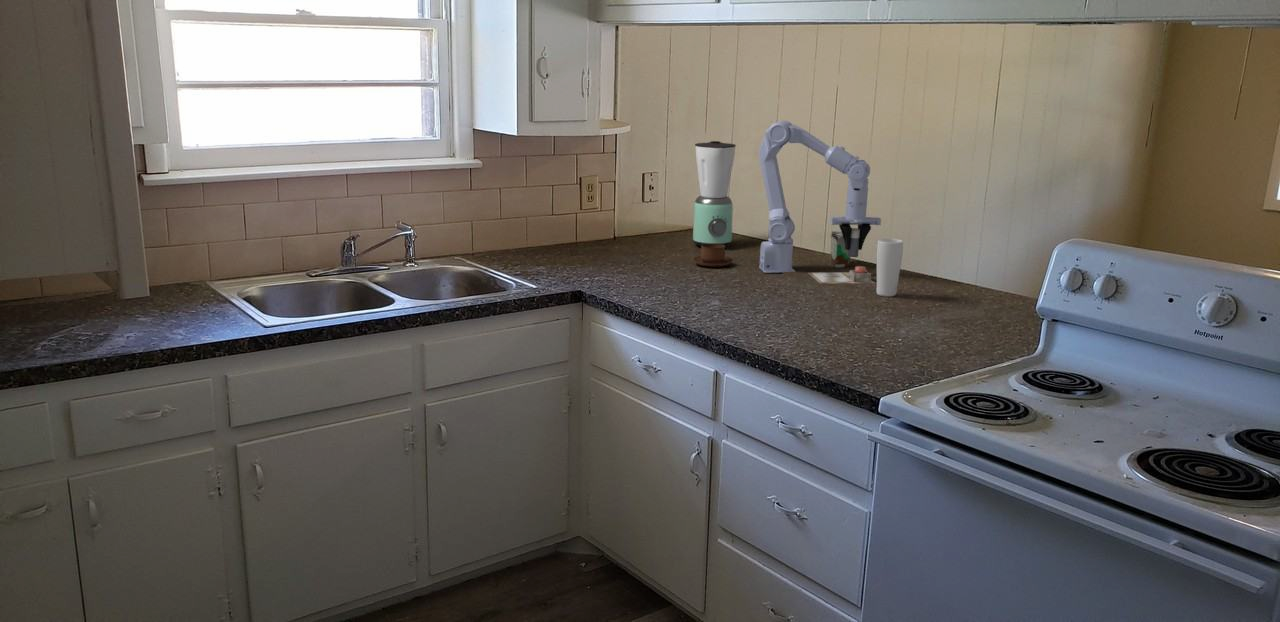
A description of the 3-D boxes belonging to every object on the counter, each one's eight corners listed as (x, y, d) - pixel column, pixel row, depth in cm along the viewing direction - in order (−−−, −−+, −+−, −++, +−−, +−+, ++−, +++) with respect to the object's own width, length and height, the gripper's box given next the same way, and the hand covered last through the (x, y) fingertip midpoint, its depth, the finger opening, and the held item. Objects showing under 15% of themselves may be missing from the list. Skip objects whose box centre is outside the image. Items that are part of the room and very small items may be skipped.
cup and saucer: (687, 262, 307) (688, 242, 305) (723, 260, 310) (724, 241, 309) (700, 270, 296) (701, 250, 294) (737, 268, 299) (738, 248, 297)
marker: (849, 257, 286) (851, 230, 284) (846, 255, 289) (848, 228, 287) (859, 257, 286) (861, 230, 284) (856, 255, 289) (858, 228, 287)
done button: (856, 275, 280) (857, 268, 279) (853, 273, 283) (853, 266, 282) (866, 275, 280) (867, 268, 280) (863, 272, 283) (864, 266, 283)
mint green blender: (738, 250, 326) (742, 143, 317) (699, 251, 323) (702, 143, 314) (722, 240, 344) (725, 138, 335) (685, 240, 341) (687, 138, 332)
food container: (856, 271, 297) (858, 238, 294) (836, 270, 297) (838, 238, 294) (848, 262, 309) (851, 231, 306) (829, 262, 309) (831, 231, 306)
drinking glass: (884, 298, 263) (889, 243, 259) (868, 293, 269) (872, 239, 265) (904, 296, 266) (908, 241, 262) (887, 291, 272) (891, 237, 268)
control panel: (820, 285, 277) (820, 275, 277) (807, 274, 291) (808, 264, 290) (875, 284, 279) (876, 274, 278) (860, 274, 292) (860, 264, 292)
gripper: (836, 205, 279) (833, 251, 283) (885, 205, 281) (882, 251, 284) (829, 201, 286) (826, 247, 289) (877, 201, 287) (874, 247, 291)
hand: (853, 249), depth 287 cm, fingers closed on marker, 3 cm apart
